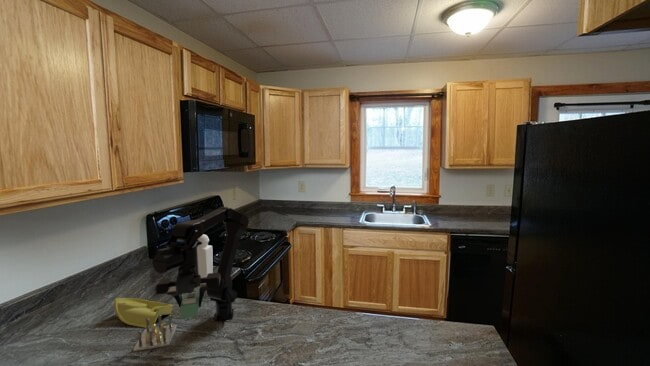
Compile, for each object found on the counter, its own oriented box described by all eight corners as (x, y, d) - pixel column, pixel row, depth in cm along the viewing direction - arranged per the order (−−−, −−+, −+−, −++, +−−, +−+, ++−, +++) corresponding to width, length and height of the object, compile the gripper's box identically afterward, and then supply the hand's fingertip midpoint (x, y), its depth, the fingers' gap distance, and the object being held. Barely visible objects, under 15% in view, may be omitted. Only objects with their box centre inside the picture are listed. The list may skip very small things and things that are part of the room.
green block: (184, 306, 99) (183, 291, 98) (200, 303, 100) (199, 289, 100) (181, 318, 91) (180, 303, 91) (198, 315, 93) (197, 300, 92)
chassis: (145, 331, 101) (143, 316, 101) (176, 326, 104) (175, 312, 103) (133, 351, 91) (131, 335, 90) (168, 345, 93) (167, 329, 93)
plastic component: (175, 305, 114) (158, 306, 105) (169, 326, 112) (151, 329, 103) (132, 297, 118) (112, 298, 109) (126, 317, 116) (104, 319, 106)
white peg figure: (207, 280, 142) (204, 236, 140) (195, 279, 143) (192, 236, 141) (214, 275, 148) (212, 232, 146) (202, 274, 149) (200, 232, 147)
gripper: (147, 274, 84) (151, 326, 85) (216, 267, 89) (219, 316, 90) (158, 261, 95) (162, 307, 96) (219, 255, 99) (221, 299, 101)
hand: (191, 307), depth 95 cm, fingers closed on green block, 5 cm apart
